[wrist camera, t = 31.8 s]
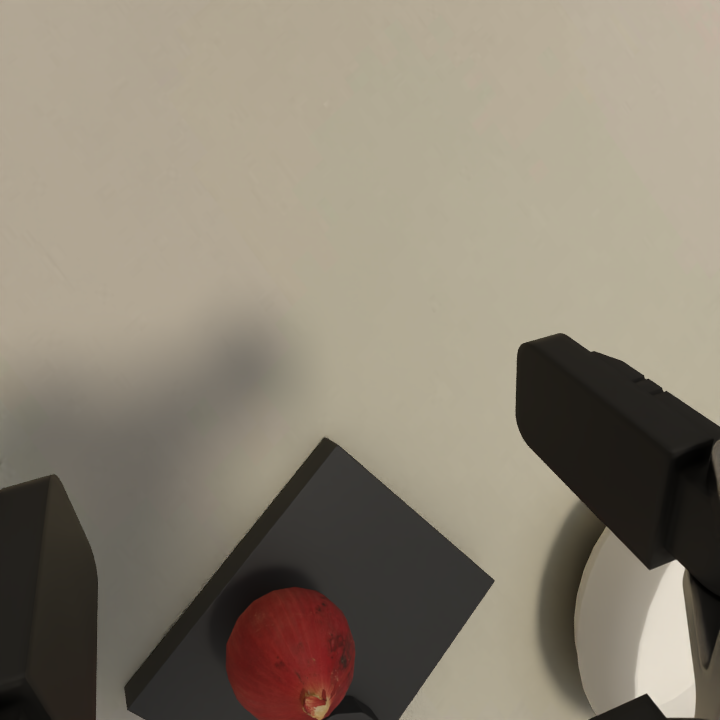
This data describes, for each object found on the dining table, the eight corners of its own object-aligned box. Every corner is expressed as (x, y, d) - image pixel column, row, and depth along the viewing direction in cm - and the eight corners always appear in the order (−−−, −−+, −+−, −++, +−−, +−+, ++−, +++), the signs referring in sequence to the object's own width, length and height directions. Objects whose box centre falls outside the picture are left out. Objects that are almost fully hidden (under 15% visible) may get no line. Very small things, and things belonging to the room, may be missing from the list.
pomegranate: (301, 542, 33) (366, 613, 26) (335, 633, 34) (406, 726, 27) (194, 597, 31) (232, 692, 24) (235, 692, 32) (282, 810, 25)
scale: (318, 795, 37) (340, 843, 34) (122, 688, 32) (128, 732, 29) (477, 568, 40) (512, 592, 37) (324, 436, 35) (349, 451, 32)
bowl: (538, 463, 41) (644, 503, 34) (738, 438, 49) (860, 465, 42) (526, 744, 43) (624, 841, 36) (720, 676, 51) (834, 743, 44)
